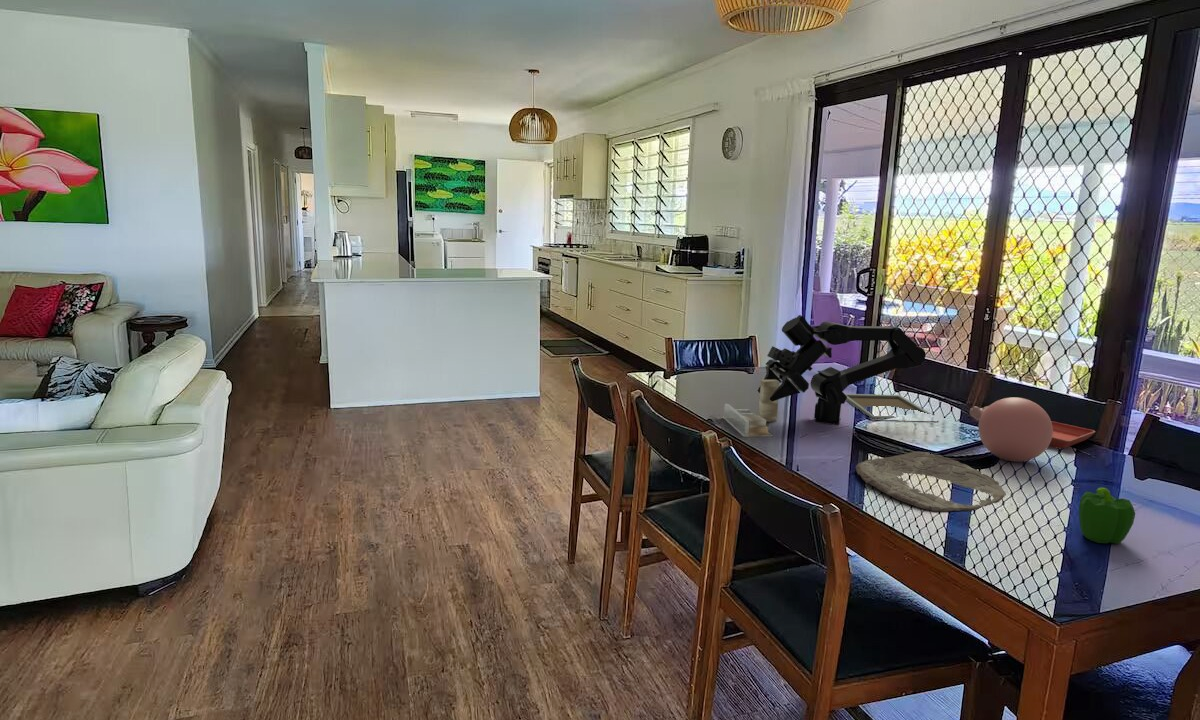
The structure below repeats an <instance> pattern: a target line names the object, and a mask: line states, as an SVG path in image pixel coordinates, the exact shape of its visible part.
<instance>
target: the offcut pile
mask: <svg viewBox="0 0 1200 720" xmlns="http://www.w3.org/2000/svg"><path fill="white" fill-rule="evenodd" d="M742 416H744V417H745V418H746V419H747V420H748V421H749V435H758V434H768V432H769V427H768V426H767V421H766V420H765V419H764V418H762V417H760V416H759V414H755V415H742Z"/></svg>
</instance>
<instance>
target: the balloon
mask: <svg viewBox="0 0 1200 720" xmlns="http://www.w3.org/2000/svg"><path fill="white" fill-rule="evenodd" d="M969 415H970V416H971V417H972V418H974V419H975V421H978V427H977V428H978V433H979V435H978V436H979V438H980V440H981V442H982V444H983V446H984V447H985V448H986V449H987V450H988V451H989V452H990V453H991V454H992V455H994V456H995V457H997V458H1000V459H1002V460H1005V461H1008V462H1016V463H1017V462H1019V463H1020V462H1026V461H1030V460H1033V459H1035V458H1037V457H1040V455H1042V454H1043V453H1044V452H1045V451H1046V450H1047V449H1048V448H1049V447H1050V446H1049V444H1050V442H1051V440H1052V436H1053V426H1052V422H1051V421H1052V420H1051V418H1050V416H1049V414H1048V413H1047V411H1046V410H1045V409H1044V408H1043V407H1041V406H1040V405H1039V404H1038V403H1036V402H1034V401H1032V400H1030V399H1028V398H1024V397H1017V396H1016V397H1014V396H1013V397H1004V398H1002V399H998V400H996V401H994V402H993V403H991V404H990V405H987V406H984V407H978V406H977V405H976V406H975V405H974V406H973V407H971V408H970V409H969Z"/></svg>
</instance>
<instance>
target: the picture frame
mask: <svg viewBox="0 0 1200 720" xmlns="http://www.w3.org/2000/svg"><path fill="white" fill-rule="evenodd" d="M844 394H845V395H846V396H847V399H846V401H845V402H847V403H849V404H850V405H851V406H852V407H854V408H855V407H856V408H855V409H857V410H858V409H859V410H860V411H859V410H858V411H859V412H861V411H862V412H863V413H864V414H863V413H862V412H861V413H862V414H863V415H865V414H866V415H868V416H869V417H871V418H889V417H894V416H874V415H873V414H871V413H870V412H869V411H867V410H866V409H864V407H871V406H876V407H878V406H886V405H887V406H891V407H894V406H895V407H899V408H902V409H903V408H904V409H909V410H910V409H911V410H918V411H920V412H924V413H927V414H932V413H931V412H929V411H928V410H927V409H926V410H925V409H924V408H923V407H920V406H919V405H917V404H916V403H914V402H912V401H910V400H909V399H907V398H905V397H904V396H902V395H900V394H875V393H874V394H872V393H871V394H870V393H844ZM866 415H865V416H866ZM869 417H868V418H869Z"/></svg>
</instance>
